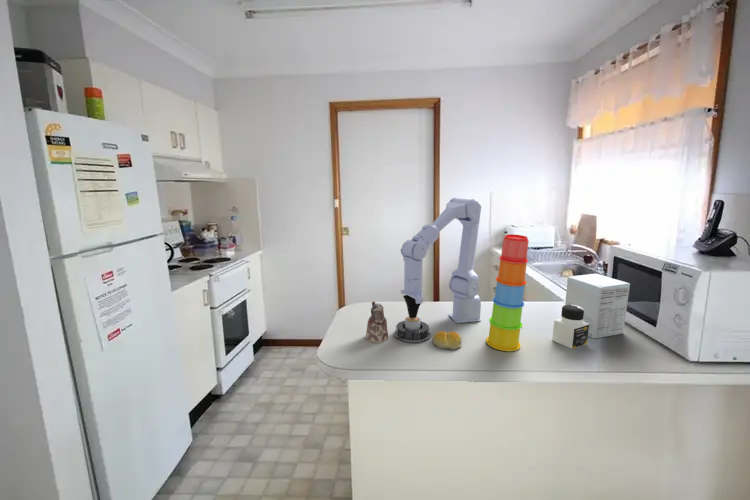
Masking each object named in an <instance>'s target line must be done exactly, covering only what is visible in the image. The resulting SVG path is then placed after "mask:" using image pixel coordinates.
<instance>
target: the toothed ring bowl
mask: <svg viewBox="0 0 750 500" xmlns="http://www.w3.org/2000/svg"><path fill="white" fill-rule="evenodd" d="M395 328H396V329H395V330H394V334H393V335H394V337H395V338H396V340H398V341H400V342H404V343H407V344H419V343H424V342H427V341H428V340H430V339H431V331H430V326H429V325H428V323H426V322H424V321H421V320H420V329H419V330H413V331H412V330H407V329H405V320H402V321H399V322H398V323H397V324H396V326H395Z"/></svg>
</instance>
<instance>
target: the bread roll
mask: <svg viewBox="0 0 750 500" xmlns="http://www.w3.org/2000/svg"><path fill="white" fill-rule="evenodd" d="M462 338H463V337H462V336H461V335H460V333H458V332H456V331H449V332H448V331H447V332H446V331H444V330H440V331H437V332H436V333H434V335H433V337H432V342H433V344H434V345H435V346H436V347H438V348H440V349H445V350H448V349H449V350H457V349H460V348H462V345H463V344H462V340H463V339H462Z"/></svg>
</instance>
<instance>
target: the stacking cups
mask: <svg viewBox="0 0 750 500" xmlns="http://www.w3.org/2000/svg"><path fill="white" fill-rule="evenodd" d="M528 249H529V238H528V236H525V235H521V234H510V233H509V234H506V235H505V236H504V237H503V240H502V249H501V255H500V256H499V257H498V259H499V267H498V273H497V277H496V278H495V282H496V287H495V294H494V297H493V298H492V302H493V305H492V312H491V317H490V318H489V319H488V321H489V324H490V326H489V331H488V336H487V337H486V338H485V341H486V343H487V344H488V346H490V347H491V348H493V349H495V350H498V351H502V352H516V351H518V350H519V349H521V346H522V345H521V343H520V333H521V329H522V328H523V323H522V321H521V320H522V315H523V314H522V312H523V307H525V302H524V294H525V286H526V285H527V281H526V273H527V265H528V264H527V263H529V260H528Z"/></svg>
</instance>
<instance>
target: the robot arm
mask: <svg viewBox="0 0 750 500" xmlns="http://www.w3.org/2000/svg"><path fill="white" fill-rule="evenodd" d="M481 211H482V205H481V204H480V202H479V201H478V200H477V199H475V198H472V199H468V198H459V197H458V198H457V197H453V198H451V199H449V201H448V202H447V203H446V204H445V209H443V211H442V212H441V213H440V215H438V216H437V218H436V219H435V220H434V221H433V223H431V224H425V225H423V226H422V227H421V229H420V230H419V232H417V233H416V235H414V236H413V237H411V239H408V240H406V241H404V242H403V244H402V246H401V248H400V254H401V256H402V257H403V262H404V268H403V269H404V274H403V275H404V279H403V280H404V282H403V286H404V287H403V289H401V290H400V294H401V295H402V297H403V300H404V302H405V304H406V309H407V314H408V317H410V318H416V317H418V313H419V310H420V306H421V304H423V301H424V299H423V261H424V260H423V259H424V258H425V257H427V254H428V250H429V248H430V247H431V245H433V244H434V243H435V242H436V241H437V240H438V239H439V237H440V232H441V231H442V230H443V229H444V228H446V227H447V225H449V224H451V222H453V221H454V220H458V221H459V222H460V224H462V233H461V239H460V247H459V255H458V264H457V269H455V270H454V271H452V272H451V277H450V279H449V282H448V288H449V290H450V291H451V294H452V295H453V296H452V297H453V298H452V312H451V313H449V314H448V316H449V317H450V318H451V319H452V320H453V321H454V322H455V323H456V324H460V323H473V322H475V323H476V322H481V320H482V319H481V309H482V307H481V306H482V304H481V298H480V296H479V295H478V294H479V292H480V284H479V279H480V277H479V275H478V274H477V273H476V272H475V271H474V266H475V258H476V250H477V243H478V236H479V235H478V234H479V228H480V219H481Z"/></svg>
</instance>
